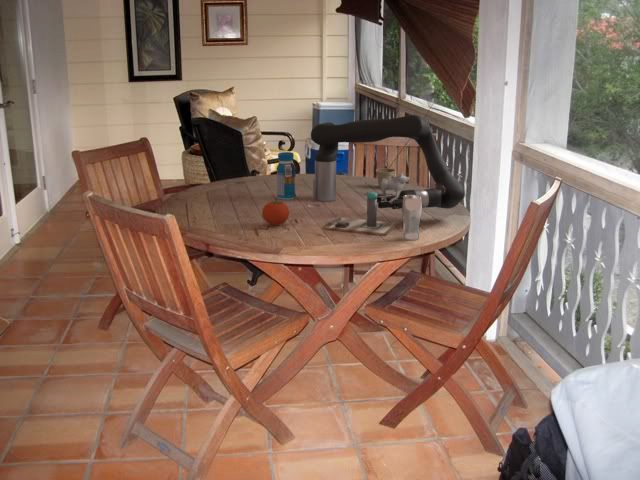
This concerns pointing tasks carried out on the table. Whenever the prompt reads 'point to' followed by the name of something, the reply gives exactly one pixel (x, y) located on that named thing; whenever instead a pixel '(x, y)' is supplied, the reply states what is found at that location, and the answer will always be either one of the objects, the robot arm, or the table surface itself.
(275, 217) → the tomato
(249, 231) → the table surface
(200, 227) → the table surface
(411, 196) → the beer glass
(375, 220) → the marker
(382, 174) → the flower pot
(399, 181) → the dog figurine
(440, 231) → the table surface
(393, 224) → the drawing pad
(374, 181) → the table surface
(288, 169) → the beverage bottle
